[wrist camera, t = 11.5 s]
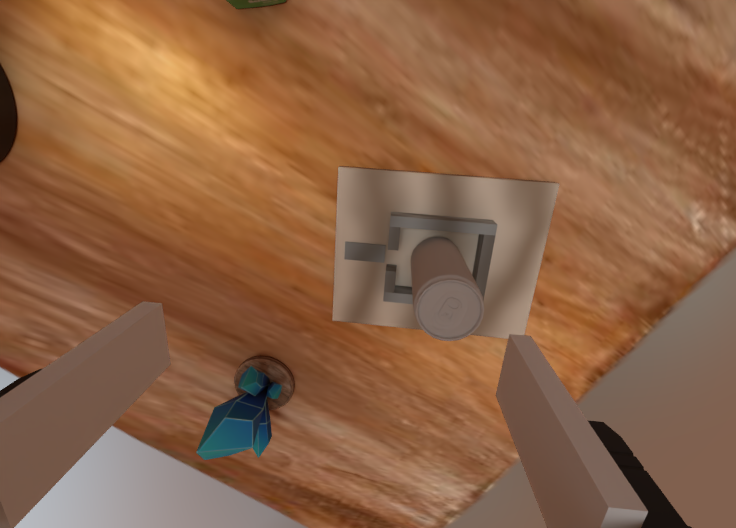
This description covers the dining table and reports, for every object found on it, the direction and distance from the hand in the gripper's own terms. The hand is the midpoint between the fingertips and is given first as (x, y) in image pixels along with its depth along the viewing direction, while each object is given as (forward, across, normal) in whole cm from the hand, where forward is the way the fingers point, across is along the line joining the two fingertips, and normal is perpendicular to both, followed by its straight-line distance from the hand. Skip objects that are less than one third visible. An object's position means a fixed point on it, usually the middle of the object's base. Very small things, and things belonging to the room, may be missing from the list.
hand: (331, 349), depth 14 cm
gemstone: (+24, -11, -22) cm, 34 cm away
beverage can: (+23, +7, -4) cm, 24 cm away
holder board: (+24, +7, -4) cm, 25 cm away
